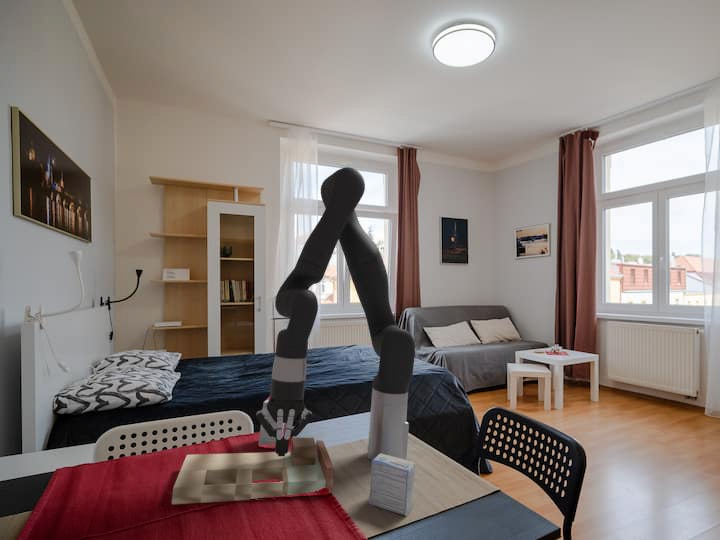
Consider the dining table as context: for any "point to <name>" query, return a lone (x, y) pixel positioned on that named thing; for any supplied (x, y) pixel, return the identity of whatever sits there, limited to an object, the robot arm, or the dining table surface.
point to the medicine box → (392, 484)
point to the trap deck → (249, 476)
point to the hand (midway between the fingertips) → (280, 454)
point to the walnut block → (303, 451)
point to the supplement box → (264, 435)
